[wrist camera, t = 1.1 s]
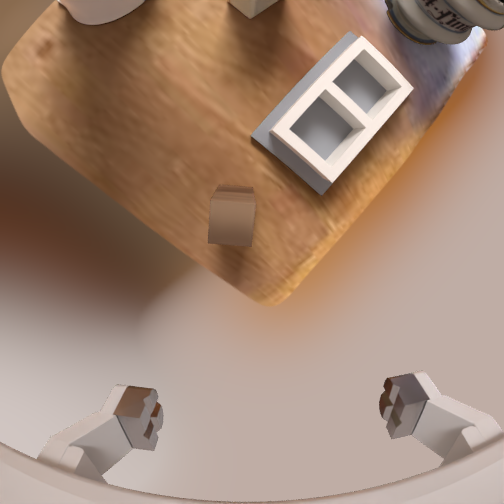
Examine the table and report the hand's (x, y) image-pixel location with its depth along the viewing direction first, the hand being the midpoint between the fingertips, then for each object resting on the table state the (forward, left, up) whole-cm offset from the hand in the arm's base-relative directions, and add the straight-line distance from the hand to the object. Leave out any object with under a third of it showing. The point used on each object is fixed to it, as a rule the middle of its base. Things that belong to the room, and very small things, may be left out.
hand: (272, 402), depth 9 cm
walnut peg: (-1, -2, -29) cm, 29 cm away
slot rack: (-14, +9, -29) cm, 33 cm away
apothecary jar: (-32, +20, -29) cm, 48 cm away
